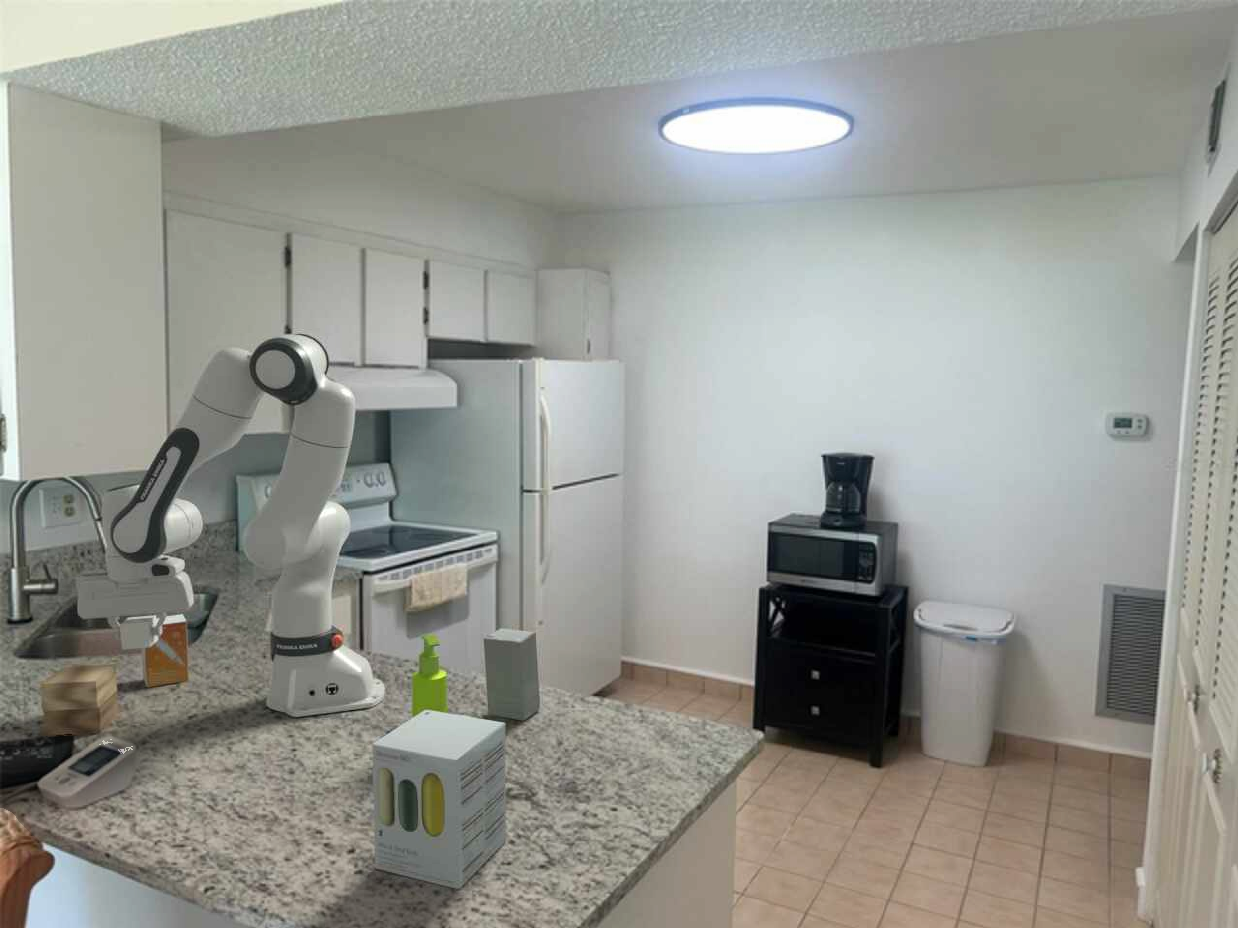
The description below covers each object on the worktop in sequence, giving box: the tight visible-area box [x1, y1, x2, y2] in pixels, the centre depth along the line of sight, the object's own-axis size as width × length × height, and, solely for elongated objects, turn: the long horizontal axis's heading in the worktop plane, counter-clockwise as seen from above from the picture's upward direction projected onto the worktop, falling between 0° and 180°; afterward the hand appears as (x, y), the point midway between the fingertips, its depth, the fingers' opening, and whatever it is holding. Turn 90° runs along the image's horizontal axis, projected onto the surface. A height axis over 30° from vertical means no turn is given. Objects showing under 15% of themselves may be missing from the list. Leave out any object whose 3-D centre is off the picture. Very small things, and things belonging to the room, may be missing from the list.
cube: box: [119, 614, 158, 651], centre depth 175 cm, size 5×5×5 cm
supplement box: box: [371, 710, 507, 890], centre depth 121 cm, size 13×13×18 cm
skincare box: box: [483, 627, 541, 721], centre depth 171 cm, size 8×7×16 cm
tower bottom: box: [43, 690, 120, 737], centre depth 164 cm, size 9×9×5 cm
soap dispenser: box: [411, 633, 448, 718], centre depth 155 cm, size 6×7×20 cm
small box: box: [141, 613, 190, 688], centre depth 187 cm, size 8×6×13 cm
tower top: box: [40, 664, 118, 712], centre depth 164 cm, size 9×9×5 cm
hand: (139, 636), depth 175 cm, fingers closed on cube, 5 cm apart
